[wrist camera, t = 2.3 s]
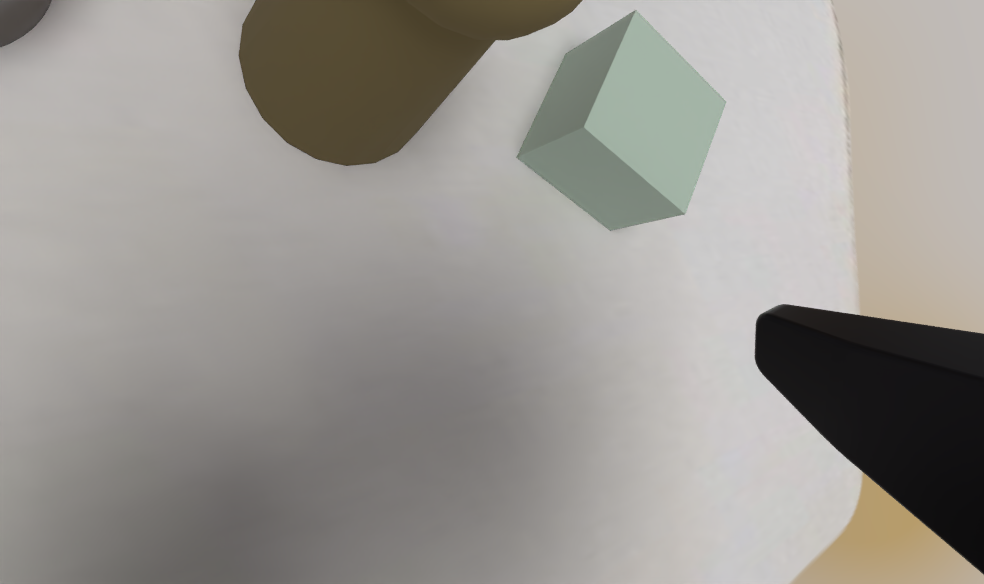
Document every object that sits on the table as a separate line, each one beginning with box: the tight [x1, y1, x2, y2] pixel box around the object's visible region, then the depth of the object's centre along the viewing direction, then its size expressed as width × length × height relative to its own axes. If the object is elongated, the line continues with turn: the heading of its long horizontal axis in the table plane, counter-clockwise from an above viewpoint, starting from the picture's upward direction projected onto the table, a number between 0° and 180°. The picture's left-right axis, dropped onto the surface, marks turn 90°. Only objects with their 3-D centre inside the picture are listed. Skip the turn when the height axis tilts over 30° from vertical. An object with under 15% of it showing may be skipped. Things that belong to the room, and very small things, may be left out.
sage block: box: [516, 10, 726, 231], centre depth 24 cm, size 5×5×4 cm
